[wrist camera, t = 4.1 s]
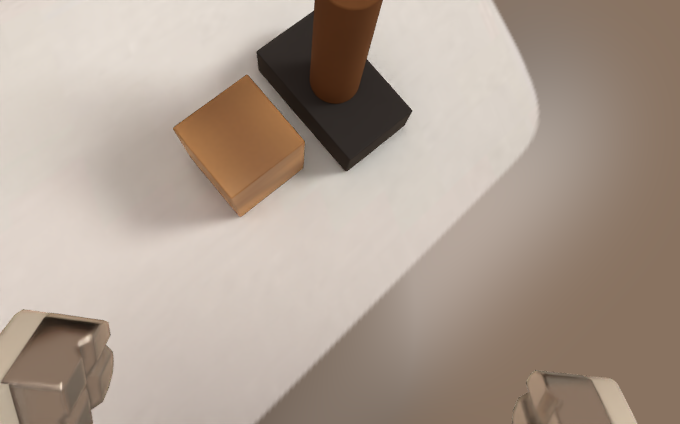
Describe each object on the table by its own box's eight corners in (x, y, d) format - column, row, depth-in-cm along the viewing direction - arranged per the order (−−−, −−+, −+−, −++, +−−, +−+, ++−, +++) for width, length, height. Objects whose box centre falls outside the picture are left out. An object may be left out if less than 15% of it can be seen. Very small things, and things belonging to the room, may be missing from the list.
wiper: (318, 27, 29) (330, -125, 19) (404, 125, 28) (463, 19, 18) (258, 70, 28) (239, -66, 18) (345, 172, 27) (375, 87, 18)
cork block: (253, 108, 28) (247, 73, 24) (303, 168, 27) (305, 141, 23) (189, 156, 27) (171, 127, 23) (240, 217, 26) (231, 199, 23)
